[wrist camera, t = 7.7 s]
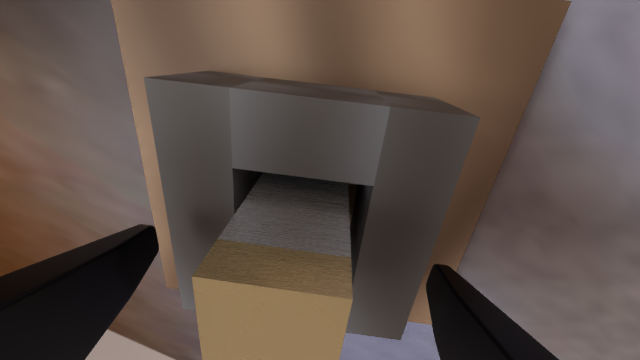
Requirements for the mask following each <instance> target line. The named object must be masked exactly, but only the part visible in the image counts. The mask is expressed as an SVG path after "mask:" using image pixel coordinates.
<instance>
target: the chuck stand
mask: <svg viewBox="0 0 640 360" xmlns="http://www.w3.org/2000/svg"><path fill="white" fill-rule="evenodd" d="M570 3H571V1H565V0H111V4H112V9H113V14H114V19H115V24H116V29H117V35H118V40H119V45H120V50H121V55H122V60H123V65H124V70H125V76H126V81H127V86H128V91H129V96H130V101H131V106H132V112H133V117H134V122H135V127H136V132H137V137H138V142H139V147H140V153H141V158H142V163H143V168H144V173H145V178H146V183H147V189H148V194H149V199H150V204H151V209H152V214H153V219H154V224H155V228H156V233H157V238H158V243H159V250H160V255H161V260H162V266H163V271H164V276H165V281H166V286H167V288H174V289H179V291H180V297H181V303H182V309H186V310H193V311H196V306H195V298H194V290H193V283H192V275H193V274H194V272H195V271H196V270H197V268H198V267H199V265H200V264H201V262H202V261H203V259H204V258H205V256H206V255H207V254H208V252H209V251H210V249H211V248H212V246H213V245H214V243H215V242H216V240H217V239H218V238H219V236H220V235H221V233H222V232H223V230H224V229H225V227H226V226H227V224H228V223H229V222H230V220H231V219H232V217H233V216H234V214H235V213H236V211H237V210H238V208H239V207H240V206H241V204H242V203H243V201H244V200H245V198H246V197H247V195H248V194H249V192H250V191H251V190H252V188H253V187H254V185H255V184H256V182H257V181H258V179H259V178H260V176H261V175H262V174H263V172H266V173H274V174H282V175H290V176H298V177H306V178H313V179H321V180H329V181H337V182H345V183H348V194H349V219H350V243H351V268H352V292H353V301H352V305H351V310H350V314H349V318H348V323H347V327H346V332H347V333H354V334H361V335H368V336H375V337H383V338H390V339H397V340H401V337H402V334H403V332H404V329H405V326H406V323H407V321H409V322H417V323H424V324H431V325H432V321H431V316H430V310H429V304H428V298H427V293H426V282H427V279H428V277H429V274H430V271H431V269H432V266H433V265H434V264H444V265H448V266H450V267H451V268H452V269H453V270H454V271H457V269H458V266H459V264H460V262H461V259H462V257H463V255H464V252H465V250H466V248H467V245H468V243H469V240H470V238H471V236H472V233H473V231H474V229H475V226H476V224H477V222H478V219H479V217H480V215H481V212H482V210H483V208H484V205H485V203H486V201H487V198H488V196H489V194H490V191H491V189H492V186H493V184H494V182H495V179H496V177H497V175H498V172H499V170H500V168H501V165H502V163H503V161H504V158H505V156H506V154H507V151H508V149H509V147H510V144H511V142H512V139H513V137H514V135H515V132H516V130H517V128H518V125H519V123H520V121H521V118H522V116H523V114H524V111H525V109H526V107H527V104H528V102H529V100H530V97H531V95H532V93H533V90H534V88H535V85H536V83H537V81H538V78H539V76H540V74H541V71H542V69H543V67H544V64H545V62H546V60H547V57H548V55H549V53H550V50H551V48H552V46H553V43H554V41H555V39H556V36H557V34H558V31H559V29H560V27H561V24H562V22H563V20H564V17H565V15H566V13H567V10H568V8H569V6H570Z"/></svg>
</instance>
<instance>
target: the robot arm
mask: <svg viewBox="0 0 640 360" xmlns="http://www.w3.org/2000/svg"><path fill="white" fill-rule="evenodd" d="M158 250H159V243H158V238H157V233H156V228H155V227H154V226H152V225H145V224H139V225H137V226H134V227H131V228H129V229H126V230H123V231H121V232H118V233H115V234H112V235H110V236H107V237H104V238H102V239H99V240H96V241H94V242H91V243H88V244H86V245H83V246H80V247H78V248H75V249H72V250H70V251H67V252H64V253H62V254H59V255H56V256H54V257H51V258H48V259H46V260H43V261H40V262H38V263H35V264H32V265H30V266H27V267H24V268H22V269H19V270H16V271H14V272H11V273H8V274H6V275H3V276H0V360H85V359H86V357H87V356H88V355H89V353H90V352H91V351H92V349H93V348H94V346H95V345H96V344H97V342H98V341H99V340H100V338H101V337H102V336H103V334H104V333H105V331H106V330H107V329H108V327H109V326H110V325H111V323H112V322H113V321H114V319H115V318H116V317H117V315H118V314H119V313H120V311H121V310H122V308H123V307H124V306H125V304H126V303H127V302H128V300H129V299H130V297H131V296H132V294H133V293H134V291H135V290H136V288H137V286H138V285H139V283H140V281H141V280H142V278H143V276H144V275H145V273H146V271H147V270H148V268H149V266H150V265H151V263H152V261H153V260H154V258H155V256H156V255H157V253H158ZM426 293H427V298H428V304H429V310H430V316H431V321H432V327H433V332H434V337H435V342H436V345H437V349H438V353H439V356H440V360H559V359H558V358H556V357H555V356H554V355H553V354H552V353H551V352H549V351H548V350H547V349H546V348H545V347H544V346H542V345H541V344H540V343H539V342H538V341H536V340H535V339H534V338H533V337H532V336H531V335H529V334H528V333H527V332H526V331H525V330H524V329H522V328H521V327H520V326H519V325H518V324H517V323H515V322H514V321H513V320H512V319H511V318H509V317H508V316H507V315H506V314H505V313H504V312H502V311H501V310H500V309H499V308H498V307H497V306H495V305H494V304H493V303H492V302H491V301H490V300H488V299H487V298H486V297H485V296H484V295H483V294H481V293H480V292H479V291H478V290H477V289H475V288H474V287H473V286H472V285H471V284H470V283H468V282H467V281H466V280H465V279H464V278H463V277H461V276H460V275H459V274H458V273H457V272H456V271H454V270H453V269H452V268H451V267H450V266H448V265H444V264H434V265H433V266H432V269H431V271H430V274H429V277H428V279H427V282H426Z"/></svg>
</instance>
